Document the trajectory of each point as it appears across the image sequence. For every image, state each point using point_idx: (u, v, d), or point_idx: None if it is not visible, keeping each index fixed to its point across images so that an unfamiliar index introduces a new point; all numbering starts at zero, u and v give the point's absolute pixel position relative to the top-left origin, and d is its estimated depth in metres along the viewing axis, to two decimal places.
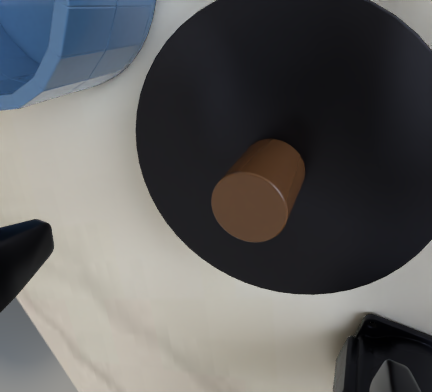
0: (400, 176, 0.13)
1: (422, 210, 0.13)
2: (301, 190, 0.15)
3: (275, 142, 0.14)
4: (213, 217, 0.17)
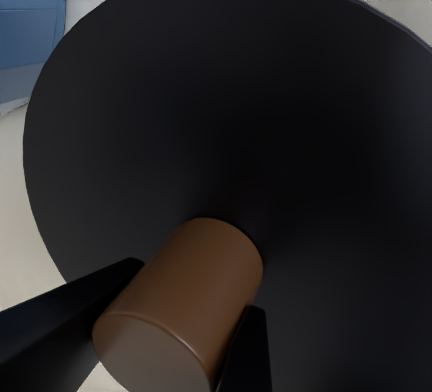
0: (414, 290, 0.08)
1: None
2: (259, 291, 0.10)
3: (214, 227, 0.09)
4: None
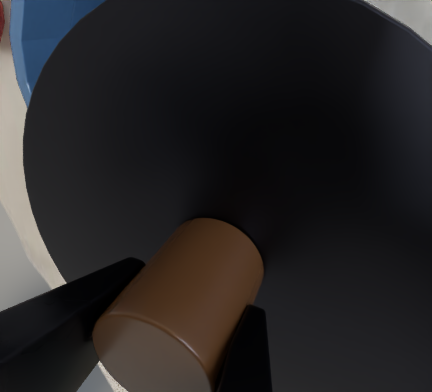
0: (415, 290, 0.08)
1: None
2: (260, 292, 0.10)
3: (214, 227, 0.09)
4: None
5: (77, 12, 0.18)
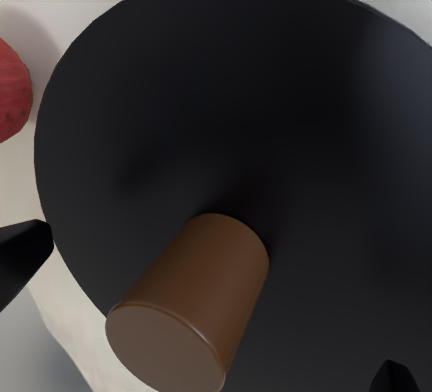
0: (415, 283, 0.08)
1: None
2: (265, 285, 0.10)
3: (222, 222, 0.09)
4: None
5: None
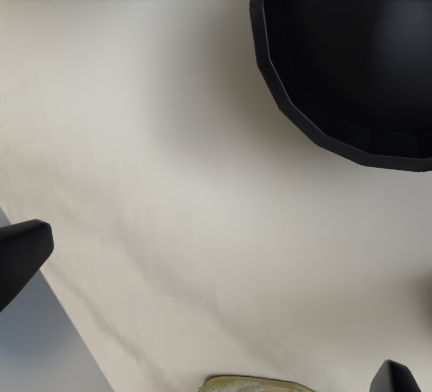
0: None
1: None
2: None
3: None
4: None
5: None
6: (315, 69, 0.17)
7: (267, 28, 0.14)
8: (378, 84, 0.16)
